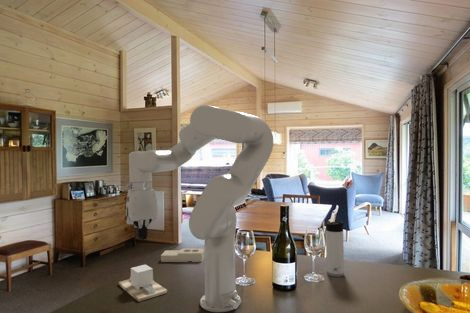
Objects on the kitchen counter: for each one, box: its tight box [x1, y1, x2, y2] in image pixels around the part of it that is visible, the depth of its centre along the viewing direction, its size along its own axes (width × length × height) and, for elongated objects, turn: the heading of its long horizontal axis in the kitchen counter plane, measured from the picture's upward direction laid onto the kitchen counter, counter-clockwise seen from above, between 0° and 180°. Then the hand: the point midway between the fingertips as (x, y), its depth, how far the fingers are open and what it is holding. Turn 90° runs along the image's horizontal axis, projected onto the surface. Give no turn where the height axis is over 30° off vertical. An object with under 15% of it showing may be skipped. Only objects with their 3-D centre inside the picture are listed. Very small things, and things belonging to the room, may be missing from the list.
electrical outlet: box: [160, 248, 204, 263], centre depth 145 cm, size 7×4×18 cm
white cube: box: [130, 264, 154, 290], centre depth 114 cm, size 6×6×6 cm
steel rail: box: [129, 276, 156, 294], centre depth 114 cm, size 16×2×1 cm, turn 39°
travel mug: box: [325, 221, 345, 278], centre depth 124 cm, size 6×7×20 cm
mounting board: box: [118, 278, 168, 303], centre depth 114 cm, size 18×10×1 cm, turn 39°
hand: (142, 238), depth 114 cm, fingers closed
